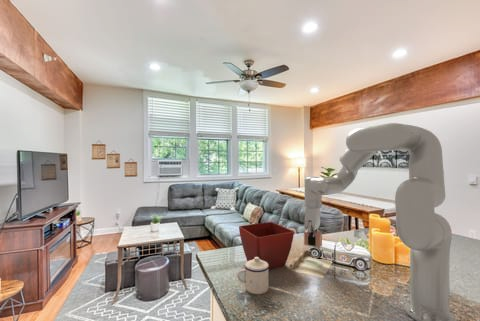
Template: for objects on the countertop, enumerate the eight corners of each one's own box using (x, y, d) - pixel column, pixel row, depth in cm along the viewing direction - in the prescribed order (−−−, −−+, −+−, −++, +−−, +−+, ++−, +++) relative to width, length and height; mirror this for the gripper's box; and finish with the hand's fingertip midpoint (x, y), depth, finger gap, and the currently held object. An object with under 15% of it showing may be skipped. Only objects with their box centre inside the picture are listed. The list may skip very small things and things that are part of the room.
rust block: (304, 244, 111) (304, 231, 111) (306, 242, 114) (306, 229, 114) (319, 247, 107) (319, 234, 107) (322, 245, 111) (322, 232, 111)
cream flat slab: (323, 280, 97) (323, 272, 97) (289, 271, 104) (289, 264, 104) (333, 261, 115) (333, 255, 115) (304, 255, 122) (304, 249, 122)
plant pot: (295, 269, 107) (295, 231, 107) (258, 278, 99) (257, 237, 99) (271, 254, 124) (271, 221, 124) (238, 261, 116) (237, 226, 116)
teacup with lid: (266, 281, 96) (266, 252, 96) (271, 294, 87) (271, 262, 87) (236, 283, 95) (236, 253, 95) (238, 296, 86) (237, 263, 86)
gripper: (310, 200, 120) (310, 237, 120) (299, 206, 106) (299, 247, 106) (325, 201, 116) (325, 239, 116) (316, 207, 102) (316, 251, 102)
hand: (313, 243), depth 111 cm, fingers closed on rust block, 4 cm apart
